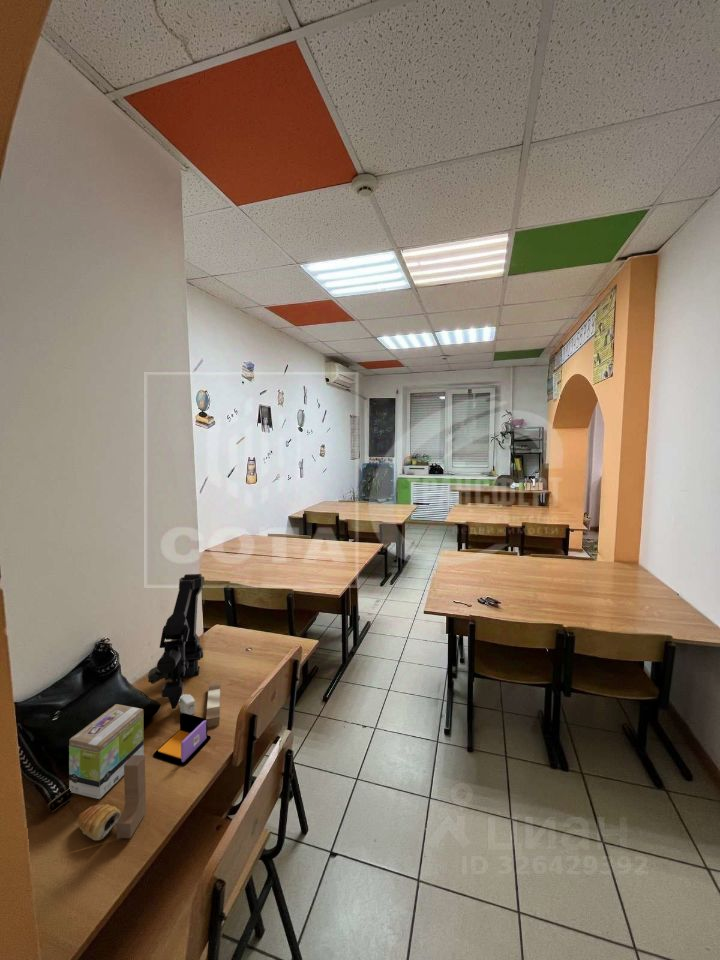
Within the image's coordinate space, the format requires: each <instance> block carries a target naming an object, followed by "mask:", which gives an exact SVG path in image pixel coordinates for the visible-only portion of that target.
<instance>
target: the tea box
mask: <svg viewBox="0 0 720 960" xmlns="http://www.w3.org/2000/svg"><path fill="white" fill-rule="evenodd" d="M144 738H145V737H144V709H143V708H139V707H134V706H129V705H124V704H118V703H116V704H114V705H113V706H111V707H110V708H108V709H107V710H106V711H105V712H104V713H102V714H101V715H100V716H98V717H97V718H95V719H94V720H93V721H92V722H90V723H88V725H86V726H85V727H84V728H83V729H81V730H80V731H78V732H77V733H76V734H74V735H73V736H71V738H69V740H68V741H69V742H68V752H69V753H68V770H69V771H68V777H69V778H68V781H69V782H68V785H69V787H68V790H69V789H70V791H71V792H70V793H73V794H77V795H81V796H84V797H88V798H93V799H97V800H101V798H102V797H103V796H104V795H105V794H107V792H108V791H109V790H110V789H111V788H112V787H113V786H114V785H115V784H117V783H118V781H119V780H120V779H122V777H124V765H125V764H126V762H127V761H128V760H129V758H130V757H131V756H132V755H144V748H145V747H144V742H145V741H144ZM144 756H145V755H144Z"/></svg>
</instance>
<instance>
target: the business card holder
mask: <svg viewBox="0 0 720 960" xmlns="http://www.w3.org/2000/svg"><path fill="white" fill-rule="evenodd" d="M211 738H212V736H210V735H209V734H208V728H207V720H206V718H205V717H200V716H198V715H197V716H196V715H194V714H192V715H189V714H186V713H181V712H180V714H179V730H177V732H175V733H174V734H173V735H172V736H170V737H169V739H167V740H166V741H165V742H164V743H163V744H162V745H160V746H159V748H158V749H157V750H156V751H155V752H154V753H153V754H152V756H153V758H155V759H158V760H161V761H164V762H166V763H170V764H173V765H177V766H180V767H185V766H187V765H188V764H189V763H190V762H191V761H192V760H193V759H194V758H195V757H196V756H197V755H198V754H199V753H200V751H201V750H203V748H204V747H205V746H206V745H207V744H208V742H209V741H211Z"/></svg>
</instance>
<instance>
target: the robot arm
mask: <svg viewBox="0 0 720 960" xmlns="http://www.w3.org/2000/svg"><path fill="white" fill-rule="evenodd" d="M178 583H179V584H178V592H177V597H176V600H175V604H174V607H173V612H172V614H171V615H170V616H169V617H168V618H167V620H166V622H165V625H164V626H163V628H162V631H161V637H160V641H159V642H160V644H159V649H163V650H164V651H163V654H162V655H161V656H160V658H158V659H159V660H158V661H157V664H156V666H155V667H153V668H151V669H150V670H149V672H148V674H147V678H148V680H147V682H148V683H150V684H152V685H153V684H156V683H157V682H159V681H161V680H164V681H166V682H165V684H163V685H162V689H161V698H167V699H168V701H169V703H170V706H171V709H172V710H174V709H176V708H177V706H178V702H179V699H180V697H181V696H182V693H183V694H184V686H185V685H184V681H185V679H186V678H193V677H198V676H200V668H201V666H200V665H199V661H201V659H203V658H204V648H203V646H202V645H201V644H200V641H201V640H200V639H201V638H199V636H198V634H197V620H198V619H197V616H198V599H199V598H198V597H199V595H200V593H201V592H202V590H203V587H204V586H205V585H204V584H205V577H204V576H202V573H193V574H192V573H189V574H184V576H183V577H182V576H181V577H180V578H179V581H178ZM165 640H166V641H165ZM168 640H169V641H168ZM167 680H171V681H168V682H167Z"/></svg>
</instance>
